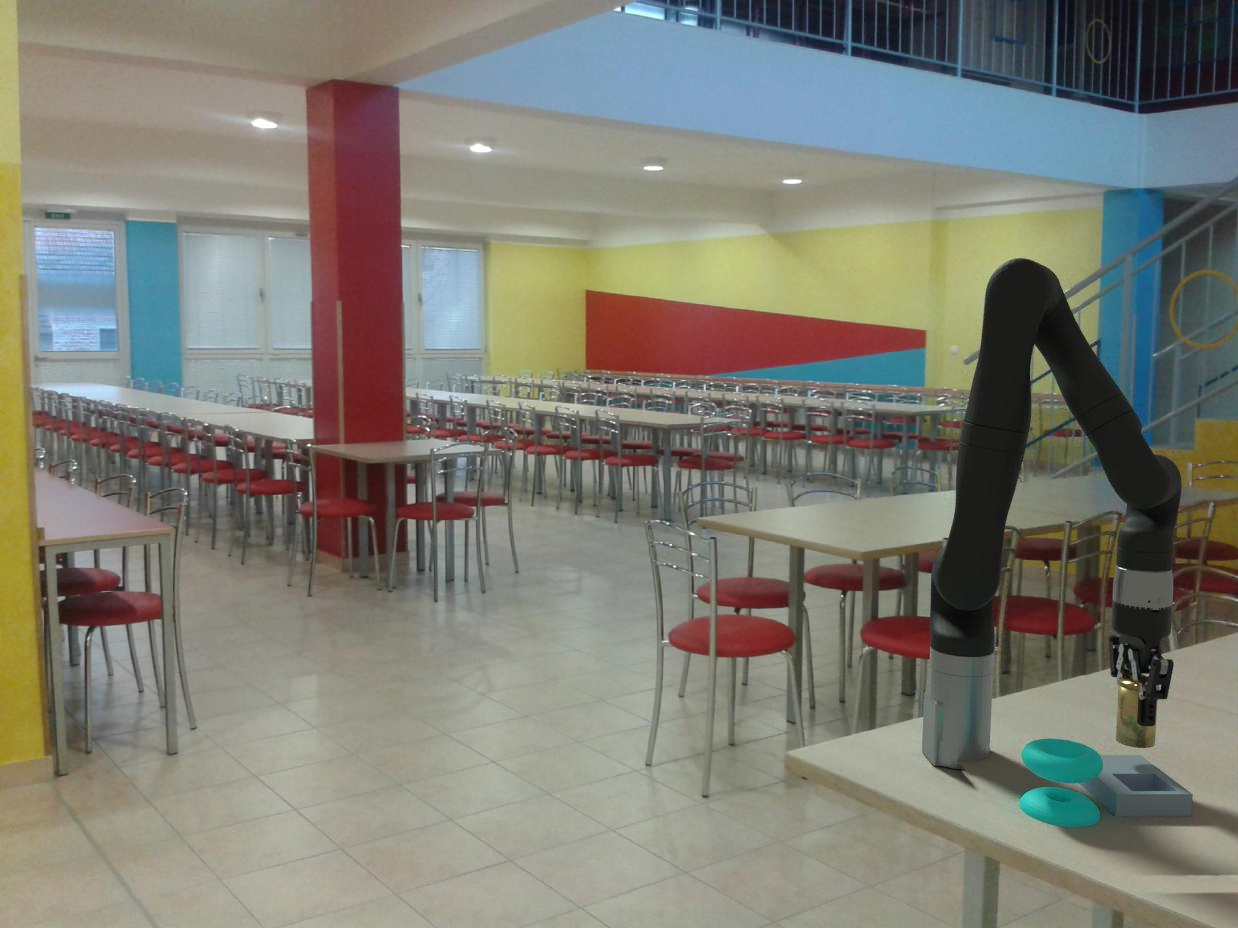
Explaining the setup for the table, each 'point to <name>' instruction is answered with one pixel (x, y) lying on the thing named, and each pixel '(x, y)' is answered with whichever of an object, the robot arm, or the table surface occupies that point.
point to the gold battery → (1132, 717)
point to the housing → (1138, 789)
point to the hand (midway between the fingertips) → (1136, 717)
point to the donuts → (1062, 766)
